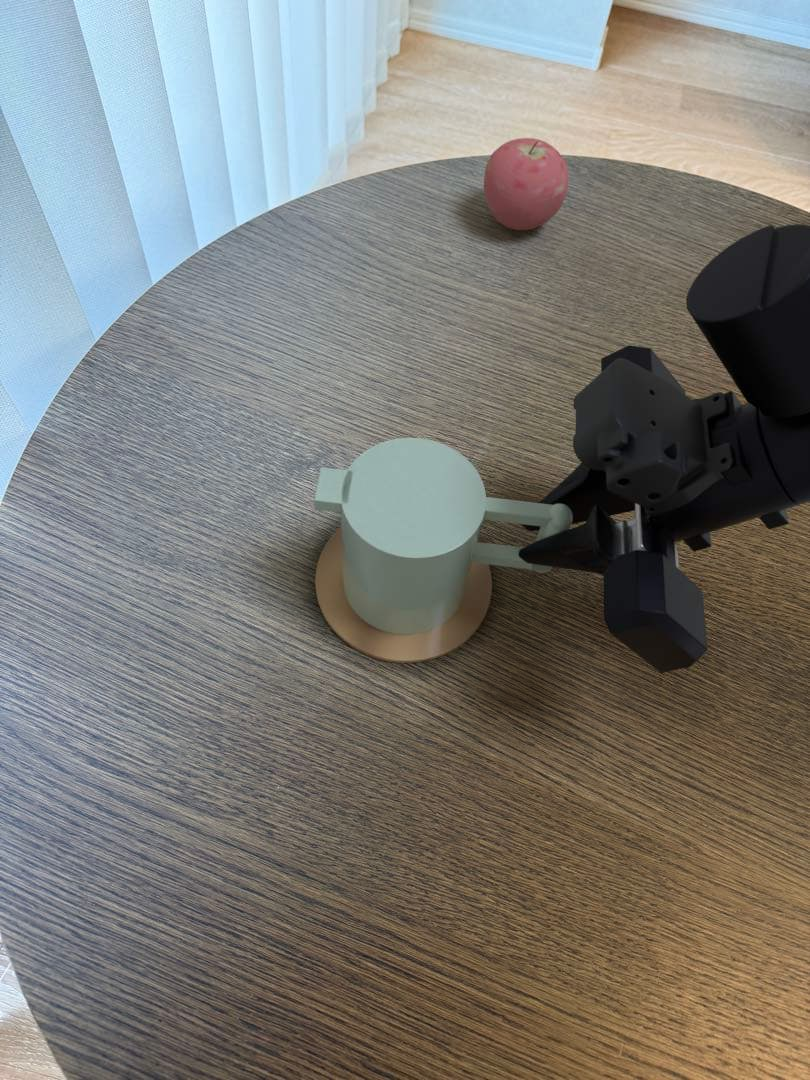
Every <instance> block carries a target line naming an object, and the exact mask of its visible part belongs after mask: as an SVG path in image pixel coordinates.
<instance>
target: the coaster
mask: <svg viewBox="0 0 810 1080" xmlns="http://www.w3.org/2000/svg"><path fill="white" fill-rule="evenodd" d="M314 581H315V582H314V583H315V594H316V600H317V603H318V606H319V608H320V611H321V614H322V616H323V618H324V619H325V621H326V622H327V624H328V626H329V627H330V628H331V629H332V631H333V632H334V633H335V634H336V635H337V636H338V638H340V639H341V640H342V641H343V642H344V643H346V644H347V645H348V646H350V647H352V648H353V649H354V650H356V651H358V652H360V653H362V654H363V655H366V656H368V657H370V658H374V659H376V660H381V661H383V662H384V661H385V662H389V663H390V662H391V663H397V664H413V663H415V664H416V663H422V662H427V661H430V660H435V659H438V658H441V657H443V656H446V655H447V654H449V653H452V652H453V651H455V650H457V649H458V648H460V647H461V646H462V645H464V644H465V643H466V642H467V641H468V640H469V639H470V638H472V636H473V635H474V634H475V633H476V632H477V630H478V629H479V628H480V626H481V625H482V624H483V621H484V620H485V618H486V615H487V613H488V610H489V607H490V604H491V599H492V593H493V592H492V591H493V580H492V573H491V567H490V565H489V564H481V563H473V562H472V566H471V570H470V574H469V578H468V582H467V586H466V590H465V593H464V597H463V600H462V602H461V604H460V606H459V607H458V609H457V610H456V612H455V613H454V614H453V615H452V616H451V617H450V618H449V619H448V620H447V621H446V622H445V623H443V624H441V625H440V626H438V627H436V628H434V629H432V630H430V631H427V632H423V633H419V634H411V635H401V634H393V633H388V632H385V631H382V630H379V629H377V628H375V627H373V626H371V625H370V624H368V623H366V622H365V621H364V620H363V619H361V618H360V617H359V616H358V615H357V614H356V613H355V612H354V610H353V609H352V608H351V606H350V605H349V603H348V601H347V599H346V596H345V594H344V590H343V585H342V547H341V526H340V527H339V528H338V529H337V530H336V531H335V532H334V533H333V534H331V537H330V538H329V539H328V541H327V542H326V543H325V545H324V547H323V548H322V551H321V553H320V556H319V558H318V561H317V564H316V569H315V579H314Z"/></svg>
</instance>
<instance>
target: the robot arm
mask: <svg viewBox="0 0 810 1080" xmlns="http://www.w3.org/2000/svg"><path fill="white" fill-rule="evenodd" d="M685 301H686V302H685V304H686V310H687V311H688V313H689V314H690V316H691V317H692V319H693V321H694V322H695V324H696V325H697V327H698V328H699V330H700V331H701V333H702V335H703V336H704V337H705V339H706V341H707V343H708V344H709V345H710V347H711V348H712V350H713V351H714V353H715V354H716V356H717V358H718V359H719V361H720V362H721V364H722V365H723V367H724V368H725V370H726V371H727V373H728V375H729V377H730V378H731V379H732V381H733V383H734V384H735V385H736V387H737V388H738V390H739V391H740V393H741V395H742V397H743V398H744V399H745V401H746V403H742V402H741V401H740V400H739V398H738V397H737V396H736V394H735V392H734V391H732V390H730V391H728V392H725V393H723V392H720V391H719V392H714V393H712V394H710V395H707V396H705V397H699V398H694V399H692V398H691V397H689V396H688V395H687V394H686V390H685V389H684V388H683V386H682V385H681V384H680V383H679V381H678V380H677V379H676V377H675V376H674V375H673V373H671V371H670V370H669V369H668V368H667V366H666V365H665V364H664V363H663V362H662V359H660V358H659V356H658V355H657V354H656V353H655V352H654V350H653V349H652V348H651V347H644V346H637V345H626V346H624V347H623V348H620V349H618V350H616V351H614V352H612V353H610V354H608V355H605V356H604V357H601V358H600V373H599V374H598V375H597V376H596V377H595V378H593V380H591V381H590V382H589V383H588V384H587V385H586V386H584V388H582V390H580V391H579V392H578V393H577V394H576V395H575V396H574V397H573V409H574V410H575V433H574V435H573V438H572V447H573V451H574V454H575V456H576V458H577V459H578V460H579V462H580V464H578V466H576V468H575V469H574V470H572V471H571V473H570V474H568V476H567V477H566V478H565V479H563V480H562V481H561V482H560V483H559V484H558V485H557V486H556V487H555V488H553V489H552V490H551V491H550V492H548V493H547V494H546V495H545V496H544V497H543V498H541V500H540V501H539V502H538V503H541V504H550V505H554V504H557V503H561V504H565V505H567V506H568V507H569V508H570V509H571V511H572V513H573V521H572V524H571V526H572V525H576V524H580V525H578V526H575V527H572V528H569V530H566V531H564V532H561V533H558V534H555V535H552V536H550V537H547V538H544V539H541V540H539V541H536V540H535V541H536V542H535V541H534V542H531V543H530V544H528V545H526V546H524V547H522V549H520V550H519V557H520V558H521V559H523V560H524V561H525V562H527V563H530V564H537V565H544V566H551V567H553V568H558V569H567V570H573V571H580V572H586V573H592V574H596V575H597V574H598V575H602V576H603V620H604V621H605V624H606V627H607V629H608V632H609V634H610V635H612V636H613V637H614V638H616V640H618V641H619V642H620V643H621V644H623V645H624V646H626V647H627V648H628V649H630V650H631V651H632V653H633V652H634V653H635V654H636V655H637V656H638V657H640V658H641V659H643V661H645V662H646V663H648V664H649V665H650V666H651V667H653V668H654V669H655V670H656V671H657V672H659V673H667V672H671V671H677V670H682V669H687V668H691V667H692V666H694V664H696V663H698V661H699V660H701V658H702V657H703V656H704V654H705V653H706V652H707V651H708V639H707V627H706V626H707V625H706V614H705V602H704V592H703V590H701V589H700V587H698V586H697V585H696V584H695V583H694V582H693V581H692V580H691V579H690V578H689V577H688V576H687V575H686V574H685V573H684V572H682V570H681V569H680V556H679V551H678V547H677V545H676V543H679V542H683V543H684V544H685V545H686V546H688V547H689V549H690V550H691V551H693V552H694V553H695V552H698V551H701V550H706V549H708V548H711V547H712V537H711V533H712V532H716V531H719V530H722V529H725V528H729V527H732V526H735V525H738V524H742V523H746V522H748V521H752V520H754V519H758V518H759V520H760V521H761V522H762V524H764V525H765V527H766V528H767V529H768V530H774V529H776V528H779V527H784V526H786V525H789V524H790V522H789V517H788V516H789V515H788V511H787V509H790V508H795V507H797V506H801V505H805V504H807V503H810V225H807V224H801V223H799V224H787V225H783V226H777V227H775V226H774V225H772V224H771V225H767V226H764V227H762V228H760V229H756V230H754V231H753V232H751V233H749V234H747V235H744V236H743V237H741V238H739V239H738V240H736V241H735V242H733V243H731V244H730V245H729V246H726V248H724V249H723V250H722V251H721V252H719V253H718V254H717V255H716V256H714V257H713V258H712V259H711V260H710V261H709V262H708V263H707V264H706V265H705V266H704V267H703V268H702V269H701V270H700V272H699V273H698V274H697V275H696V277H695V278H694V280H693V281H692V284H691V285H690V287H689V289H688V291H687V293H686V298H685ZM630 512H634V518H631V519H627V520H624V519H623V520H621V521H618V522H617V521H616V520H615V519H613V518H612V516H616V515H620V514H625V513H630ZM581 523H583V524H581ZM520 526H522V528H523V529H525V530H526V531H528V532H535V531H536V532H537V531H539V530H540V527H541V526H533V525H525V524H520Z"/></svg>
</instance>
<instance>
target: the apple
mask: <svg viewBox="0 0 810 1080" xmlns="http://www.w3.org/2000/svg"><path fill="white" fill-rule="evenodd" d="M569 178H570V177H569V171H568V167H567V164H566V161H565V159H564V158H563V156H562V155H561V152H559V151H558V150H557V149H556V148H555V146H553V145H552V144H549V143H548V142H546V141H545V140H541V139H539V138H533V137H521V138H515V139H511V140H509V141H507V142H504V143H503V144H501V145H500V146H499V147H498V148H496V149H495V150H494V151H493V152H492V153H491V155H490V157H489V159H488V161H487V164H486V165H485V171H484V177H483V190H484V197H485V201H486V204H487V206H488V208H489V211H490V213H491V215H492V216H493V218H494V219H495V220H496V221H497V222H498V223H500V224H501V225H502V226H503V227H505V228H508V229H512V230H516V231H529V230H532V229H535V228H538V227H541V226H542V225H544V224H545V223H547V222H548V221H550V219H552V218H553V217H554V216H555V215H556V214H557V213H558V211H559V210H561V209H560V208H562V206H563V203H564V202H565V198H566V195H567V193H568V189H569V182H570V181H569Z"/></svg>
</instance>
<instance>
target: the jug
mask: <svg viewBox="0 0 810 1080" xmlns="http://www.w3.org/2000/svg"><path fill="white" fill-rule="evenodd" d="M486 493H487V492H486V488H485V484H484V481H483V479H482V477H481V475H480V473H479V472H478V470H477V469H476V467H475V466H474V465H473V464H472V462H470V460H469V459H468V458H467V457H466V456H464V455H463V454H462V453H460V452H459V451H458V450H456V449H455V448H452V447H451V446H449V445H446V444H444V443H442V442H439V441H435V440H432V439H429V438H428V439H426V438H421V437H400V438H392V439H389V440H385V441H382V442H379V443H377V444H375V445H372V446H371V447H369V448H368V449H366V450H365V451H364V452H361V454H359V455H358V456H357V457H356V458H355V459H354V461H353V462H352V463H351V464H350V466H349V467H348V469H341V468H332V467H323V466H321V467H320V469H319V472H318V478H317V482H316V487H315V493H314V498H313V505H314V510H316V511H323V512H333V513H340V527H341V547H342V585H343V590H344V594H345V596H346V599H347V601H348V603H349V605H350V606H351V608H352V609H353V610H354V612H355V613H356V614H357V615H358V616H359V617H360V618H361V619H363V620H364V621H365V622H366V623H368V624H370V625H371V626H373V627H375V628H377V629H379V630H382V631H385V632H388V633H393V634H401V635H411V634H419V633H423V632H427V631H430V630H432V629H434V628H436V627H438V626H440V625H441V624H443V623H445V622H446V621H447V620H448V619H449V618H450V617H451V616H452V615H453V614H454V613H455V612H456V610H457V609H458V607H459V606H460V604H461V602H462V600H463V597H464V593H465V590H466V586H467V582H468V578H469V574H470V570H471V566H472V562H473V563H481V564H489V566H499V567H505V568H506V567H507V568H514V569H522V570H523V569H524V570H531V571H535V573H537V574H538V573H539V574H545V573H548V572H550V571H551V570H552V569H553V568H554V567H551V566H544V565H537V564H530V563H527V562H525V561H524V560H523V559H521V558H520V557H519V550H520V549H522V548H523V547H520V546H512V545H504V544H498V543H497V544H496V543H489V542H488V543H487V542H480V541H479V538H480V534H481V530H482V526H483V522H484V521H490V522H491V521H492V522H500V523H501V522H502V523H509V524H517V525H521V524H525V525H533V526H541V527H540V530H538V533H537V536H536V538H535V541H534V542H536V541H539V540H541V539H544V538H547V537H550V536H552V535H555V534H558V533H561V532H564V531H566V530H569V529H571V526H572V525H573V524H572V521H573V513H572V511H571V509H570V508H569V507H568V506H567V505H565V504H561V503H557V504H554V505H550V504H541V503H539V502H532V501H523V500H517V499H516V500H515V499H506V498H499V497H498V498H497V497H492V496H491V497H489V496H487V494H486ZM571 524H572V525H571Z"/></svg>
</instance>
